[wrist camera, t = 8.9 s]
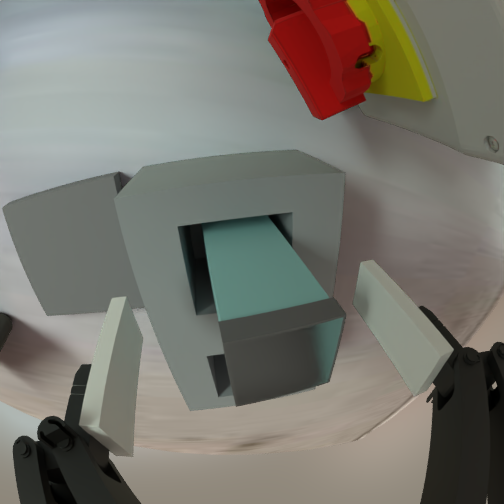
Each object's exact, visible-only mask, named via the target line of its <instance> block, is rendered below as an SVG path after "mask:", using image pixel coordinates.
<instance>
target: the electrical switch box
mask: <svg viewBox="0 0 504 504" xmlns="http://www.w3.org/2000/svg"><path fill="white" fill-rule="evenodd" d="M258 1H259V2H260V4H261V6H262V8H263V10H264V13H265V17H266V19H267V21H268V22H269V24H270V26H271V28H272V29H271V32H270V35H269V38H268V41H269V42H270V44H271V45H272V47H273V49H274V50H275V52H276V53H277V55H278V56H279V58H280V59H281V61H282V63H283V64H284V66H285V68H286V69H287V71H288V73H289V74H290V76H291V78H292V79H293V81H294V83H295V84H296V86H297V88H298V90H299V91H300V93H301V95H302V97H303V98H304V100H305V102H306V104H307V106H308V108H309V110H310V111H311V113H312V115H313V116H314V117H316V118H318V119H320V120H324V119H326V118H328V117H331V116H333V115H335V114H337V113H339V112H342V111H344V110H346V109H348V108H351V107H353V106H355V105H357V104H358V105H359V107H360V109H361V111H362V112H363V114H364V115H366V116H367V117H371V118H374V119H377V120H380V121H383V122H387V123H390V124H393V125H395V126H398V127H401V128H404V129H407V130H409V131H412V132H415V133H417V134H420V135H423V136H425V137H428V138H430V139H432V140H435V141H437V142H439V143H442V144H444V145H446V146H449V147H451V148H453V149H455V150H457V151H459V152H461V153H463V154H465V155H468V156H472V157H476V158H481V159H485V160H489V161H492V162H496V163H500V164H503V165H504V0H258Z"/></svg>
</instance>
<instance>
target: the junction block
mask: <svg viewBox="0 0 504 504" xmlns="http://www.w3.org/2000/svg"><path fill="white" fill-rule="evenodd" d="M344 187H345V172H343V171H341V170H339V169H337V168H335V167H333V166H331V165H328V164H326V163H324V162H322V161H320V160H318V159H316V158H314V157H311V156H309V155H307V154H305V153H303V152H300V151H298V150H283V151H266V152H252V153H240V154H230V155H220V156H211V157H203V158H195V159H188V160H181V161H174V162H168V163H162V164H156V165H150V166H145V167H142V168H141V169H140V170H139V172H138V173H137V174H136V175H135V176H134V177H133V178H132V179H131V180H130V181H129V182H128V183H127V184H126V186H125V187H124V188H123V189H122V190H121V191H120V192H119V193H118V195H117V196H116V197H115V198H114V202H115V207H116V211H117V215H118V219H119V223H120V227H121V231H122V235H123V239H124V242H125V246H126V249H127V253H128V256H129V260H130V263H131V266H132V270H133V273H134V276H135V279H136V282H137V285H138V288H139V291H140V294H141V297H142V300H143V303H144V305H145V308H146V311H147V314H148V316H149V319H150V322H151V324H152V327H153V330H154V332H155V335H156V337H157V340H158V342H159V345H160V347H161V349H162V352H163V354H164V356H165V359H166V361H167V363H168V366H169V368H170V370H171V372H172V375H173V377H174V379H175V381H176V383H177V385H178V387H179V390H180V392H181V394H182V396H183V398H184V400H185V402H186V404H187V406H188V408H189V410H190V411H194V410H204V409H213V408H221V407H229V406H236V404H235V400H234V396H233V392H232V388H231V383H230V379H229V374H228V369H227V364H226V359H225V354H224V349H223V344H222V339H221V334H220V328H219V323H218V322H219V321H218V316H217V311H216V306H215V301H214V296H213V291H212V286H211V281H210V276H209V270H208V265H207V260H206V254H205V248H204V242H203V235H202V228H201V223H206V222H214V221H221V220H229V219H237V218H245V217H254V216H262V215H267V216H268V217H269V218H270V220H271V221H272V222H273V223H274V225H275V226H276V227H277V229H278V230H279V231H280V233H281V234H282V235H283V236H284V238H285V239H286V240H287V242H288V243H289V244H290V246H291V247H292V248H293V249H294V251H295V252H296V253H297V255H298V256H299V257H300V259H301V260H302V261H303V263H304V264H305V265H306V267H307V268H308V269H309V271H310V272H311V273H312V275H313V276H314V277H315V279H316V280H317V281H318V283H319V284H320V285H321V287H322V288H323V290H324V291H325V292H326V294H327V295H328V296H329V298H332V297H333V293H334V286H335V279H336V271H337V263H338V255H339V246H340V236H341V226H342V215H343V202H344ZM313 389H315V387H313V388H309V389H306V390H303V391H299V392H296V393H292V394H288V395H285V396H289V395H293V394H297V393H302V392H306V391H310V390H313ZM281 397H284V396H281ZM277 398H280V397H277ZM273 399H275V398H273ZM269 400H270V399H269Z"/></svg>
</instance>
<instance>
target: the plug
mask: <svg viewBox="0 0 504 504" xmlns="http://www.w3.org/2000/svg"><path fill="white" fill-rule="evenodd" d="M201 228H202V235H203V242H204V248H205V254H206V260H207V265H208V270H209V276H210V281H211V286H212V291H213V296H214V301H215V306H216V311H217V316H218V321H219V322H218V323H219V328H220V334H221V339H222V344H223V349H224V354H225V359H226V364H227V369H228V374H229V379H230V383H231V388H232V392H233V396H234V400H235V404H236V407H237V406H242V405H247V404H251V403H256V402H260V401H265V400H269V399H273V398H277V397H281V396H285V395H288V394H292V393H296V392H299V391H303V390H306V389H309V388H313V387H316V386H319V385H322V384H325V383H328V382H330V378H331V375H332V371H333V367H334V364H335V360H336V356H337V352H338V348H339V344H340V340H341V336H342V332H343V328H344V323H345V319H346V313H345V312H344V310H343V309H342V308H341V306H340V305H339V304H338V302H337V301H336V300H335V298H334V297H332V298H329V296H328V295H327V294H326V292H325V291H324V290H323V288H322V287H321V285H320V284H319V283H318V281H317V280H316V279H315V277H314V276H313V275H312V273H311V272H310V271H309V269H308V268H307V267H306V265H305V264H304V263H303V261H302V260H301V259H300V257H299V256H298V255H297V253H296V252H295V251H294V249H293V248H292V247H291V246H290V244H289V243H288V242H287V240H286V239H285V238H284V236H283V235H282V234H281V233H280V231H279V230H278V229H277V227H276V226H275V225H274V223H273V222H272V221H271V220H270V218H269V217H268V216H267V215H262V216H254V217H245V218H237V219H229V220H221V221H214V222H206V223H201Z"/></svg>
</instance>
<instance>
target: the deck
mask: <svg viewBox="0 0 504 504" xmlns="http://www.w3.org/2000/svg"><path fill="white" fill-rule="evenodd" d="M121 190H122V185H121V180H120V174H119V172H115V173H110V174H106V175H101V176H97V177H93V178H89V179H85V180H81V181H77V182H73V183H70V184H66V185H62V186H59V187H55V188H52V189H49V190H45V191H42V192H39V193H36V194H33V195H29V196H26V197H23V198H21V199H18V200H15V201H12V202H10V203H8V204H7V205H5V206H4V207H3V208H2V209H3V213H4V216H5V219H6V222H7V225H8V228H9V231H10V234H11V237H12V240H13V243H14V245H15V248H16V251H17V253H18V256H19V258H20V261H21V263H22V265H23V268H24V270H25V272H26V275H27V277H28V279H29V281H30V283H31V286H32V288H33V290H34V292H35V294H36V296H37V298H38V300H39V302H40V304H41V306H42V307H43V309H44V311H45V313H46V315H47V316H53V315H68V314H81V313H93V312H104V311H108V308H109V305H110V302H111V299H112V298H116V297H125V296H126V297H127V299H128V302H129V304H130V307H131V309H135V308H144V307H145V305H144V303H143V300H142V297H141V294H140V291H139V288H138V285H137V282H136V279H135V276H134V273H133V270H132V266H131V263H130V260H129V256H128V253H127V249H126V246H125V242H124V239H123V235H122V231H121V227H120V223H119V219H118V215H117V211H116V207H115V202H114V198H115V197H116V196H117V195H118V193H119V192H120V191H121Z"/></svg>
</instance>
